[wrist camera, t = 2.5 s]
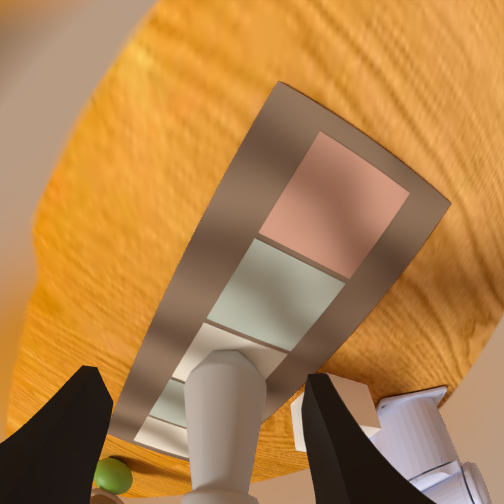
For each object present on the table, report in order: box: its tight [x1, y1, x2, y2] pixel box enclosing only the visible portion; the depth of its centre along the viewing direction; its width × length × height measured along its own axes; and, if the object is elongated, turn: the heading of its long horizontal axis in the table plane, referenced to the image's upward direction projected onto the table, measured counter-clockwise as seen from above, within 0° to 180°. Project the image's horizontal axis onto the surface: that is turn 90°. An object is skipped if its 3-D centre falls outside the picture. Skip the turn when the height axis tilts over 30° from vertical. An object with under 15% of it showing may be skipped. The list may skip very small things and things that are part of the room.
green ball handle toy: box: [90, 458, 133, 504], centre depth 28 cm, size 5×6×12 cm
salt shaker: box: [181, 350, 267, 504], centre depth 17 cm, size 6×6×13 cm
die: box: [291, 372, 382, 452], centre depth 24 cm, size 5×5×5 cm
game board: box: [107, 81, 451, 462], centre depth 23 cm, size 37×13×1 cm, turn 151°
